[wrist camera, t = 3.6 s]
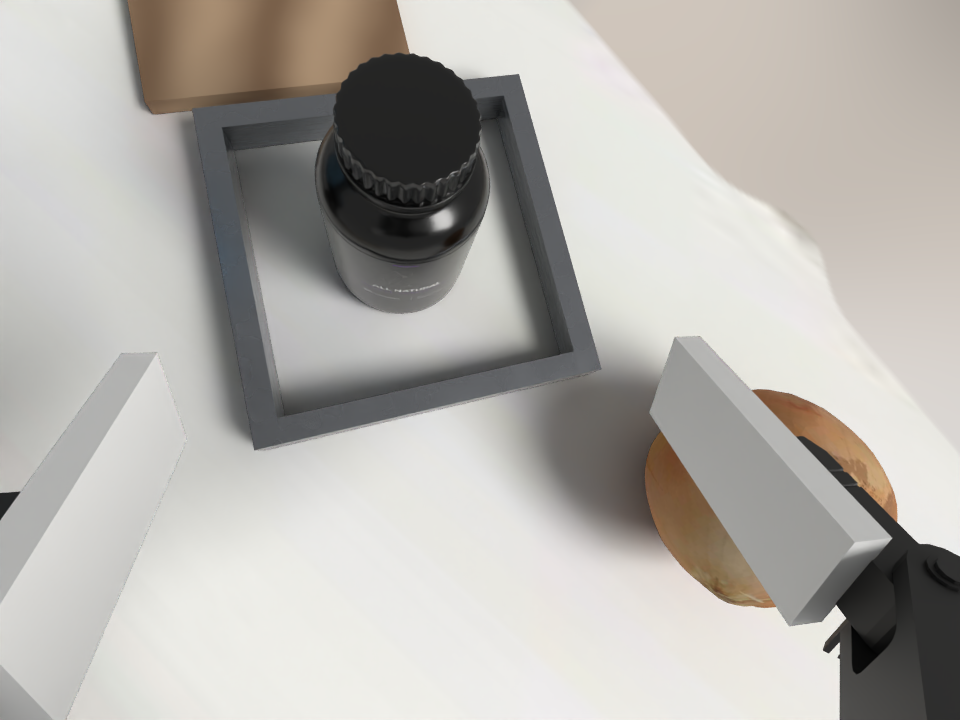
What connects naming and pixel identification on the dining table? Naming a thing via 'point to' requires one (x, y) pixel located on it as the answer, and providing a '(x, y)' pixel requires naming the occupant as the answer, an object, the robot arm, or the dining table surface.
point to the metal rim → (263, 399)
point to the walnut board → (255, 48)
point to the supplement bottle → (402, 181)
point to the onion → (698, 528)
